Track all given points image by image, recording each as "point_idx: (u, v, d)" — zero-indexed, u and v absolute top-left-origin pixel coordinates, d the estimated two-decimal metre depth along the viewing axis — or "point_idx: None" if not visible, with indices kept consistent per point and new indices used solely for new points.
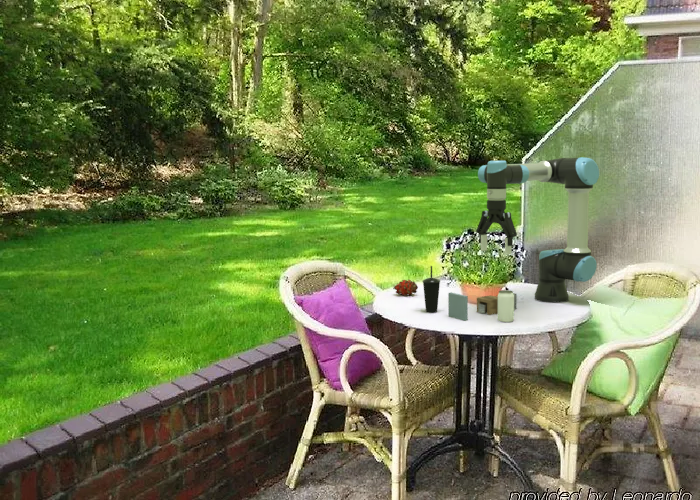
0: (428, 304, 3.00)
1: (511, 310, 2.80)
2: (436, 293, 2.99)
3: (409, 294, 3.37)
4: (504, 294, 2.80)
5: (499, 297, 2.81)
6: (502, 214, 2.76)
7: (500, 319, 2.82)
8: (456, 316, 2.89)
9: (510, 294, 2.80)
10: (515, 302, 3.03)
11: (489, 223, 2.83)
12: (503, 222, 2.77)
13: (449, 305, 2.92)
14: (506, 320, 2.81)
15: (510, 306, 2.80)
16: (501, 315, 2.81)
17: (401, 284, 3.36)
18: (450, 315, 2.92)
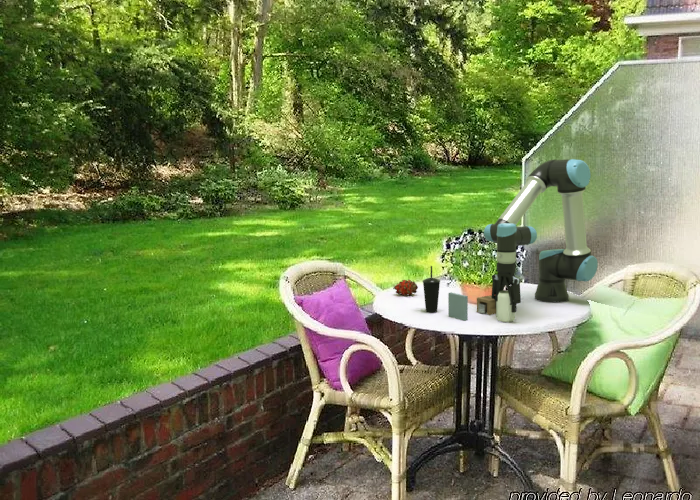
0: (428, 304, 3.00)
1: None
2: (436, 293, 2.99)
3: (409, 294, 3.37)
4: (504, 294, 2.80)
5: (499, 297, 2.81)
6: (512, 278, 2.78)
7: (500, 319, 2.82)
8: (456, 316, 2.89)
9: None
10: None
11: (501, 286, 2.83)
12: (511, 287, 2.79)
13: (449, 305, 2.92)
14: (506, 320, 2.81)
15: None
16: (501, 315, 2.81)
17: (401, 284, 3.36)
18: (450, 315, 2.92)
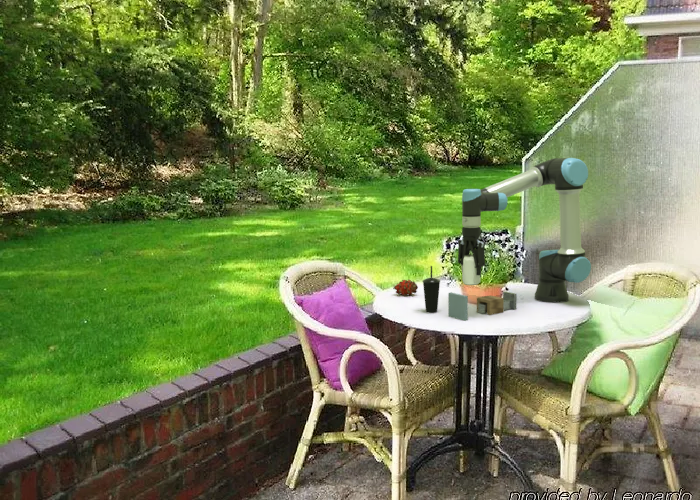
0: (428, 304, 3.00)
1: None
2: (436, 293, 2.99)
3: (409, 294, 3.37)
4: (469, 257, 2.88)
5: (464, 261, 2.89)
6: (476, 242, 2.86)
7: (465, 282, 2.90)
8: (456, 316, 2.89)
9: None
10: (515, 302, 3.03)
11: (467, 250, 2.91)
12: (476, 250, 2.87)
13: (449, 305, 2.92)
14: (471, 283, 2.88)
15: None
16: (466, 278, 2.89)
17: (401, 284, 3.36)
18: (450, 315, 2.92)
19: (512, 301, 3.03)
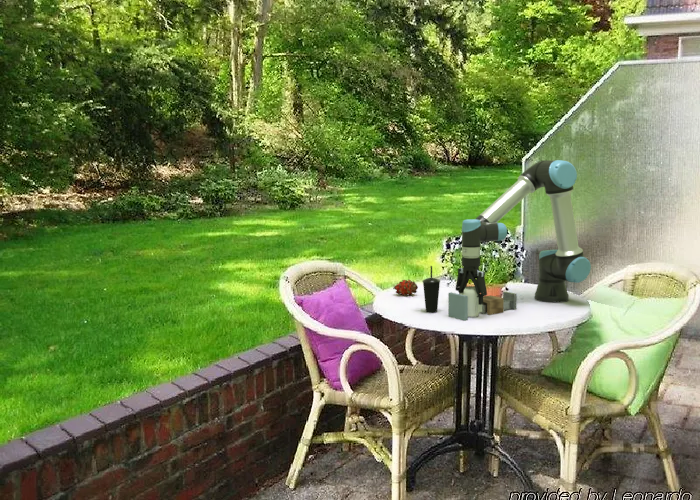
0: (428, 304, 3.00)
1: None
2: (436, 293, 2.99)
3: (409, 294, 3.37)
4: (469, 290, 2.89)
5: (465, 293, 2.91)
6: (476, 272, 2.87)
7: None
8: (456, 316, 2.89)
9: (475, 290, 2.89)
10: (515, 302, 3.03)
11: (466, 280, 2.93)
12: (476, 280, 2.88)
13: (449, 305, 2.92)
14: (471, 315, 2.90)
15: (475, 302, 2.90)
16: None
17: (401, 284, 3.36)
18: (450, 315, 2.92)
19: (512, 301, 3.03)
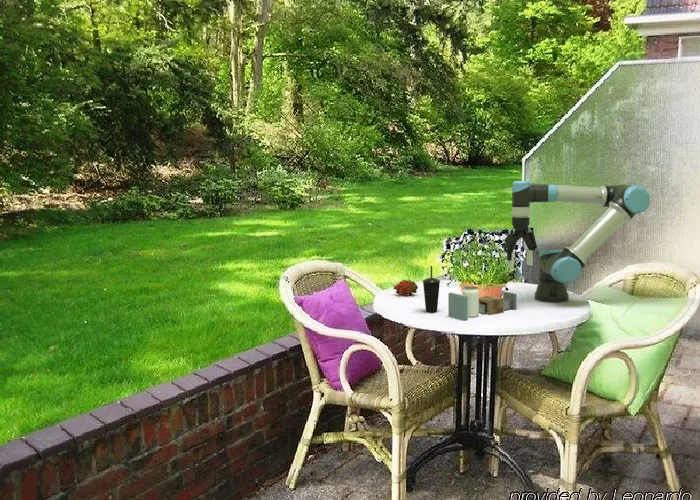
0: (428, 304, 3.00)
1: (476, 306, 2.90)
2: (436, 293, 2.99)
3: (409, 294, 3.37)
4: (469, 290, 2.90)
5: (464, 293, 2.91)
6: (512, 230, 3.03)
7: None
8: (456, 316, 2.89)
9: (474, 290, 2.90)
10: (515, 302, 3.03)
11: (524, 238, 3.07)
12: (514, 238, 3.03)
13: (449, 305, 2.92)
14: (471, 315, 2.90)
15: (474, 301, 2.90)
16: None
17: (401, 284, 3.36)
18: (450, 315, 2.92)
19: (512, 301, 3.03)
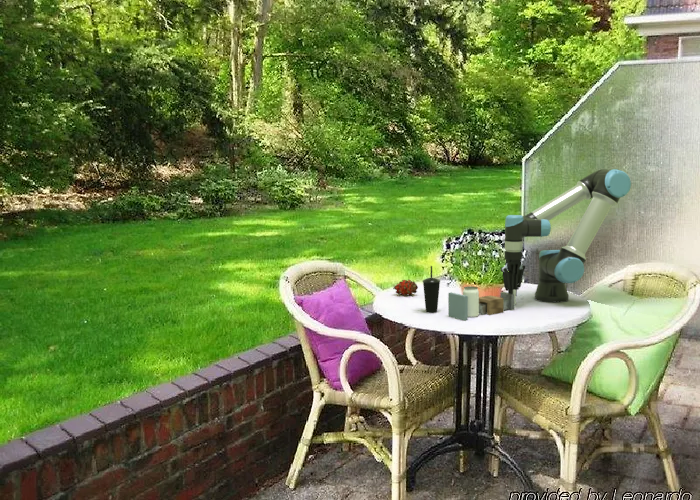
0: (428, 304, 3.00)
1: (476, 306, 2.90)
2: (436, 293, 2.99)
3: (409, 294, 3.37)
4: (469, 290, 2.90)
5: (464, 293, 2.91)
6: (505, 265, 3.03)
7: None
8: (456, 316, 2.89)
9: (475, 290, 2.90)
10: (513, 302, 3.02)
11: None
12: (509, 274, 3.04)
13: (449, 305, 2.92)
14: (471, 315, 2.90)
15: (474, 302, 2.90)
16: None
17: (401, 284, 3.36)
18: (450, 315, 2.92)
19: (510, 301, 3.02)
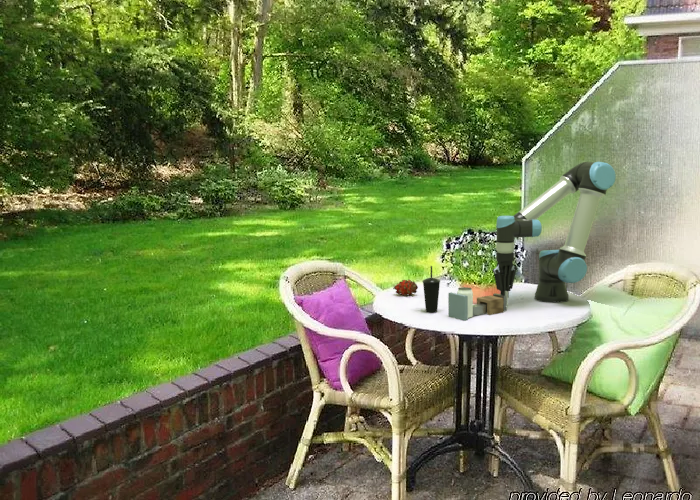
0: (428, 304, 3.00)
1: (470, 307, 2.88)
2: (436, 293, 2.99)
3: (409, 294, 3.37)
4: (463, 291, 2.88)
5: None
6: (497, 267, 3.00)
7: None
8: (456, 316, 2.89)
9: (468, 291, 2.88)
10: (505, 304, 3.00)
11: None
12: (501, 275, 3.02)
13: (449, 305, 2.92)
14: None
15: (468, 302, 2.88)
16: None
17: (401, 284, 3.36)
18: (450, 315, 2.92)
19: None
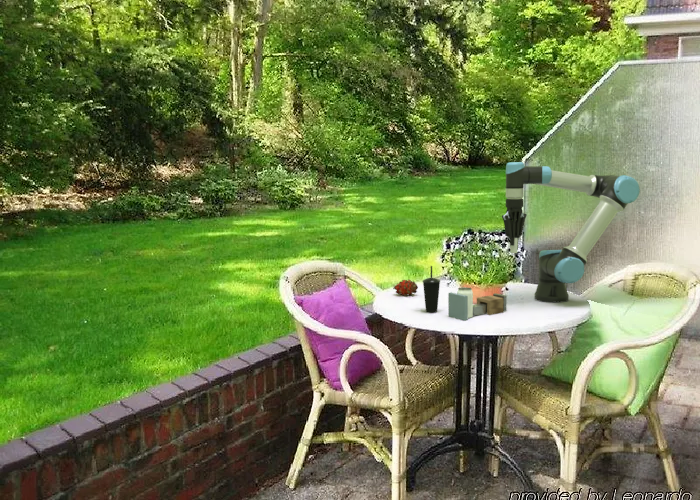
0: (428, 304, 3.00)
1: (470, 307, 2.89)
2: (436, 293, 2.99)
3: (409, 294, 3.37)
4: (463, 291, 2.88)
5: None
6: None
7: None
8: (456, 316, 2.89)
9: (468, 291, 2.88)
10: (505, 304, 3.00)
11: (514, 222, 3.03)
12: (510, 222, 3.01)
13: (449, 305, 2.92)
14: None
15: (468, 303, 2.88)
16: None
17: (401, 284, 3.36)
18: (450, 315, 2.92)
19: None
